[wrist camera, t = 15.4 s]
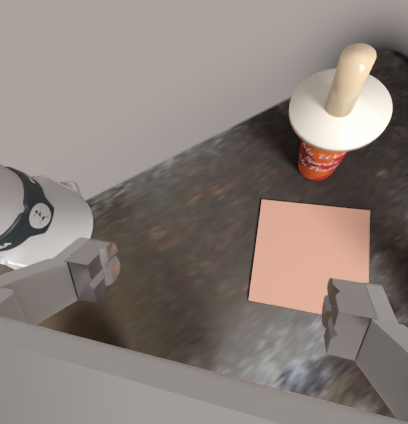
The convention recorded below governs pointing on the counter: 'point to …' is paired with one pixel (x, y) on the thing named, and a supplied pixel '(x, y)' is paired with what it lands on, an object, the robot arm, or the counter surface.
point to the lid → (342, 104)
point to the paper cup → (317, 162)
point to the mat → (307, 252)
